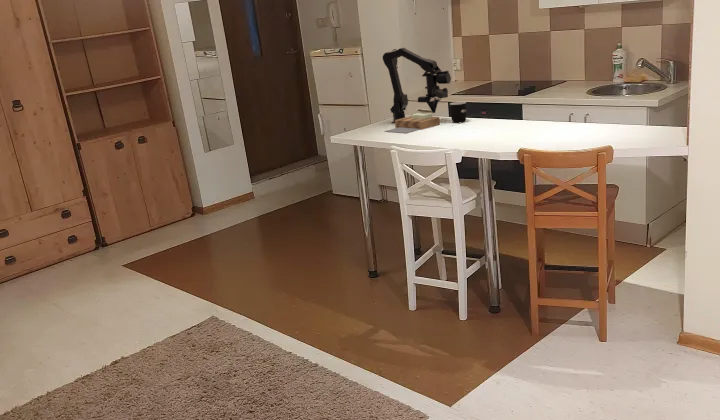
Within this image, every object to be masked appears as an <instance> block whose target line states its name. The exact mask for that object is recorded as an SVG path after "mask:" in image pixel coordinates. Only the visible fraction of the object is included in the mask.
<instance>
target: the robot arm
mask: <svg viewBox="0 0 720 420" xmlns="http://www.w3.org/2000/svg"><path fill="white" fill-rule="evenodd" d="M401 57H403V58H405V59H407V60H408V61H411V62H412V63H415V64H416V65H418V66H419V67H420V68H421V69H422V71H424V73H423V74H422V77H425V80H426V86H425V87H424V88H425V89H426V94H425V95H422V96H418V97H417V102H418V103H426V104H427V105H428V108H429V109H430V111H431V113H432V114H435V113H436V111H437V106H438V103H439V102H441V100H442V99H445V98H448V96H449V95H448V94H449V93H448V92H449V91H448V88H447V87H444V88H440V86H439V85H445V84H447V85H448V84H451V82H452V81H451V80H452V77H451V74H450V71H449V70H441V68H440V67H439V66H438V63H437V61H436V60H433V59H430V58H425V57H422V56H420V55H418V54H417V53H414V52H413V51H410V50H409V49H407V48H406V47H401V48H398V49H396V50H394V51H387V52H384V53H383V55H382V62H383V64H384V65H385V66H386V68H387V70H388V74H389V78H390V82H391V87H392V90H393V91H392V92H393V99H392V100H393V105H392V106H391V108H390V109H389V110H390V113H392V117H393V118H392V119H393V121H391V123H392V124H395V120H398V119H402V118H405V117H406V114H405V111H406V109H407V107H408V105H409V99H408V94H407V93H406V94H405V93H404V92H403V88H402V84H401V80H400V75H399V72H398V68H397V67H398V58H401ZM438 84H439V85H438Z"/></svg>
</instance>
